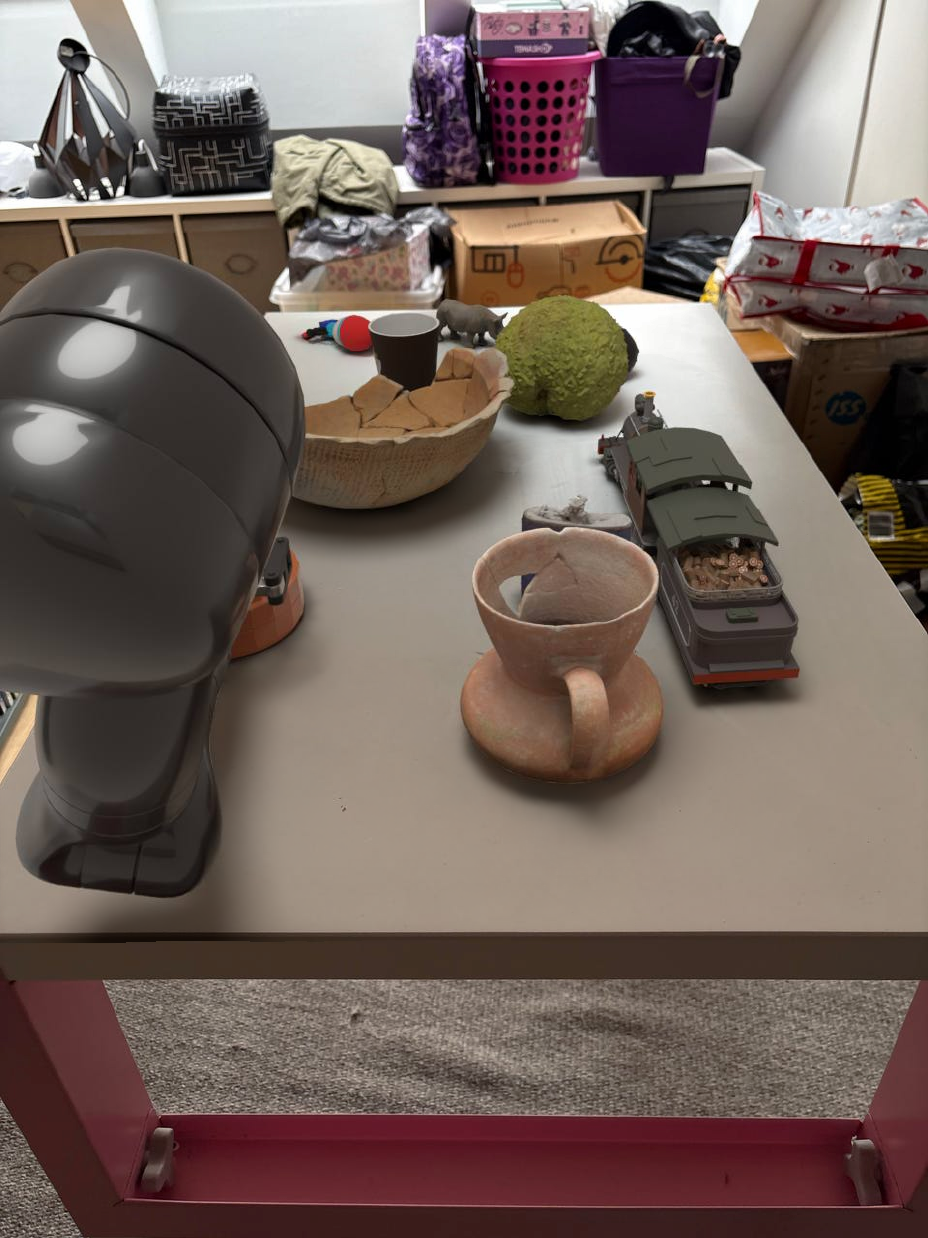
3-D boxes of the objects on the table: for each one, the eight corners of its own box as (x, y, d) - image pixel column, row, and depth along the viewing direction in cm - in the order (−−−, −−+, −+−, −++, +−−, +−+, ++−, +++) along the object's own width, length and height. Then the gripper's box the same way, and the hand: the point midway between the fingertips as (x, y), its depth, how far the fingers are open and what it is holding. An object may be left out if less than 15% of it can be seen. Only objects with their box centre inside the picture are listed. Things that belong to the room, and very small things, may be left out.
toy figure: (298, 348, 144) (351, 357, 133) (293, 314, 142) (347, 320, 131) (341, 340, 148) (396, 348, 137) (337, 307, 146) (392, 312, 135)
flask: (627, 601, 84) (635, 493, 78) (624, 621, 82) (632, 511, 76) (523, 592, 86) (522, 485, 80) (517, 611, 84) (516, 502, 78)
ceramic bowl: (312, 401, 118) (315, 282, 109) (522, 460, 114) (545, 341, 105) (184, 527, 96) (174, 390, 86) (439, 605, 92) (458, 471, 82)
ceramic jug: (456, 668, 78) (448, 513, 69) (635, 657, 78) (648, 502, 70) (469, 839, 63) (461, 669, 55) (689, 825, 63) (714, 653, 55)
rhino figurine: (508, 358, 133) (507, 315, 130) (429, 341, 140) (426, 300, 136) (524, 349, 136) (524, 307, 132) (445, 333, 143) (444, 292, 139)
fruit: (493, 442, 111) (461, 311, 109) (524, 436, 125) (497, 319, 122) (630, 407, 106) (600, 268, 103) (648, 405, 119) (621, 281, 117)
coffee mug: (435, 417, 118) (431, 337, 112) (367, 414, 119) (359, 335, 114) (453, 381, 127) (450, 305, 121) (390, 379, 129) (383, 304, 123)
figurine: (591, 324, 120) (573, 297, 136) (577, 377, 123) (561, 345, 139) (649, 337, 121) (624, 308, 137) (634, 389, 124) (611, 355, 140)
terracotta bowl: (141, 667, 79) (128, 623, 76) (169, 581, 90) (159, 539, 87) (299, 656, 80) (292, 612, 77) (309, 572, 90) (302, 530, 88)
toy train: (587, 449, 109) (591, 354, 103) (665, 445, 109) (674, 350, 103) (683, 709, 73) (699, 587, 66) (800, 701, 73) (828, 579, 66)
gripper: (270, 592, 64) (288, 480, 77) (53, 607, 63) (109, 491, 77) (286, 680, 68) (301, 559, 82) (83, 694, 68) (131, 571, 81)
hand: (208, 527), depth 79 cm, fingers open, 8 cm apart
